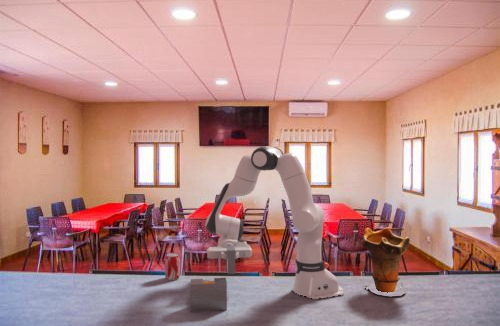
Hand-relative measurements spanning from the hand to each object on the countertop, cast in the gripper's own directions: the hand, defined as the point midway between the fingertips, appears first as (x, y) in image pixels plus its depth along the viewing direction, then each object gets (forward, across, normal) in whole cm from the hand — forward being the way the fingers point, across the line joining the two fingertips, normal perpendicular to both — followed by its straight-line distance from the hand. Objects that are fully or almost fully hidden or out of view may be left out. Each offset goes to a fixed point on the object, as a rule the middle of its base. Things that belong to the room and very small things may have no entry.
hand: (230, 257), depth 159 cm
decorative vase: (+2, +70, +17) cm, 72 cm away
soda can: (-25, -27, +17) cm, 40 cm away
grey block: (+1, 0, +6) cm, 6 cm away
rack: (+11, -10, +17) cm, 23 cm away
